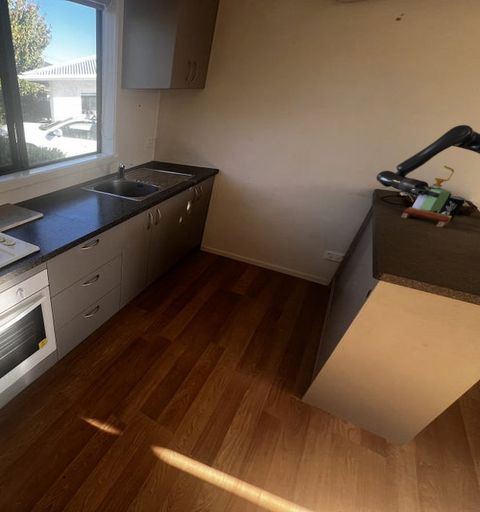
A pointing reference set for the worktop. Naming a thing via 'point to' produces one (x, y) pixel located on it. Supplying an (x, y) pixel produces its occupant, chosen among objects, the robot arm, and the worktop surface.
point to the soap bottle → (421, 198)
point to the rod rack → (427, 215)
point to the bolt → (467, 209)
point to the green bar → (435, 200)
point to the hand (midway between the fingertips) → (443, 195)
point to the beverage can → (452, 206)
